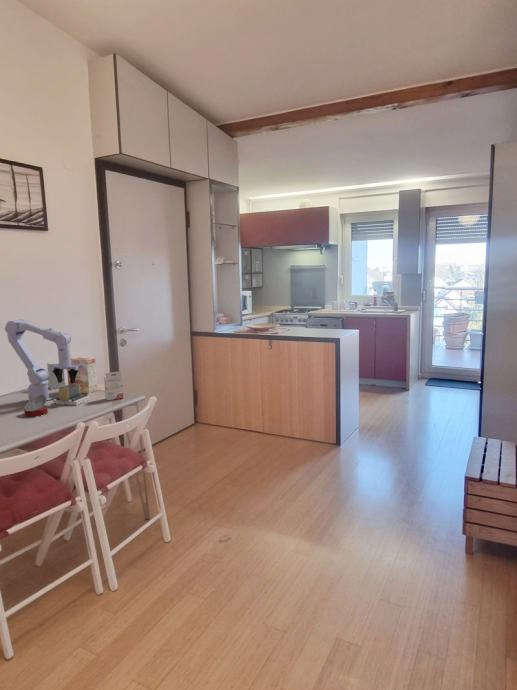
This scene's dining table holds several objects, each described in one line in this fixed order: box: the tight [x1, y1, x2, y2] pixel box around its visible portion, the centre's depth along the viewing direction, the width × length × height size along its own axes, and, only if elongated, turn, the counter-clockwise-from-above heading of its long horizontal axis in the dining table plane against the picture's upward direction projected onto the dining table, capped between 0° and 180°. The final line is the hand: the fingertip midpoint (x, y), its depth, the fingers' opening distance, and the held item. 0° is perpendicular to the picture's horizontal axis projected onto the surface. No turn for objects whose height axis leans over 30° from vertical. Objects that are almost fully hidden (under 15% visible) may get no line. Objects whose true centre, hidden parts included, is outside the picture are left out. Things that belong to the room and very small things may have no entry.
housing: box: [58, 384, 82, 401], centre depth 232 cm, size 10×5×6 cm, turn 164°
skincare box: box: [46, 361, 66, 390], centre depth 265 cm, size 8×6×15 cm
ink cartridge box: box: [103, 371, 124, 401], centre depth 238 cm, size 9×5×15 cm, turn 118°
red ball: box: [24, 395, 49, 418], centre depth 213 cm, size 11×10×10 cm
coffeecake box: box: [66, 355, 98, 394], centre depth 255 cm, size 15×7×20 cm, turn 68°
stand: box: [52, 393, 92, 406], centre depth 234 cm, size 14×11×3 cm
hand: (66, 382), depth 235 cm, fingers open, 7 cm apart
